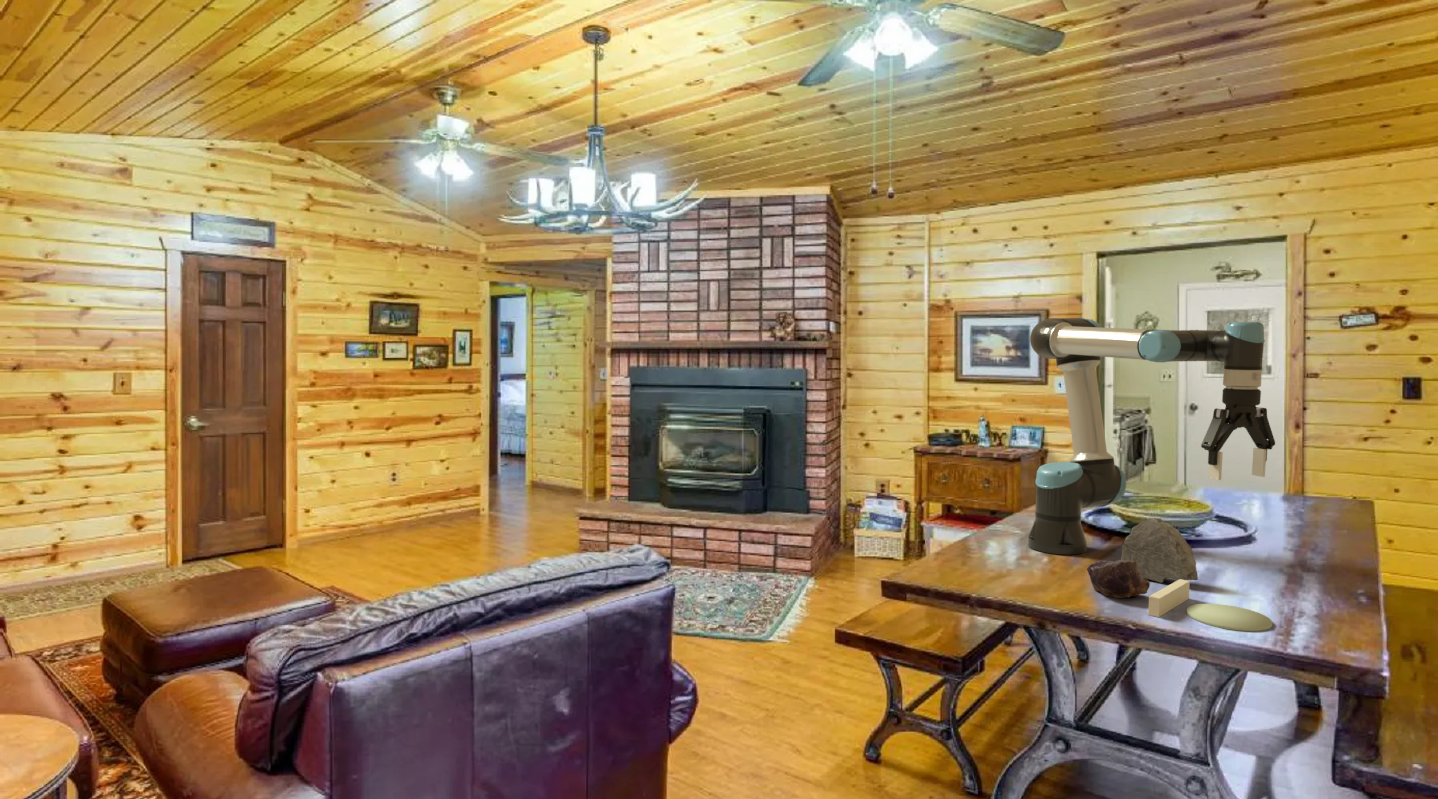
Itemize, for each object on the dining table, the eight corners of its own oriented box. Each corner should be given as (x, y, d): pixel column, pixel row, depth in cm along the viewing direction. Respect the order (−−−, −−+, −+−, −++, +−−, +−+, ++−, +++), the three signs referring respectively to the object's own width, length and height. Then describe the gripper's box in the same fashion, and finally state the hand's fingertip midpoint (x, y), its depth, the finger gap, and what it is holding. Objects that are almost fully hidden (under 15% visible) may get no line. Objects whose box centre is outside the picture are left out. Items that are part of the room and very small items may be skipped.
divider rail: (1148, 614, 169) (1149, 596, 169) (1179, 596, 181) (1179, 579, 181) (1158, 617, 168) (1159, 598, 167) (1188, 598, 180) (1189, 581, 179)
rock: (1102, 591, 189) (1081, 599, 183) (1098, 554, 190) (1077, 561, 183) (1154, 595, 180) (1134, 604, 174) (1150, 557, 181) (1130, 564, 174)
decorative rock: (1117, 575, 197) (1119, 515, 196) (1127, 570, 202) (1129, 511, 201) (1190, 590, 185) (1193, 526, 184) (1200, 584, 190) (1202, 522, 189)
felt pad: (1175, 617, 167) (1176, 614, 167) (1200, 601, 177) (1200, 599, 177) (1260, 637, 156) (1260, 634, 156) (1281, 619, 166) (1281, 616, 166)
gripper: (1215, 390, 181) (1210, 483, 183) (1296, 387, 188) (1291, 477, 190) (1186, 387, 188) (1182, 477, 190) (1266, 385, 195) (1261, 471, 197)
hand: (1236, 477), depth 190 cm, fingers open, 13 cm apart
